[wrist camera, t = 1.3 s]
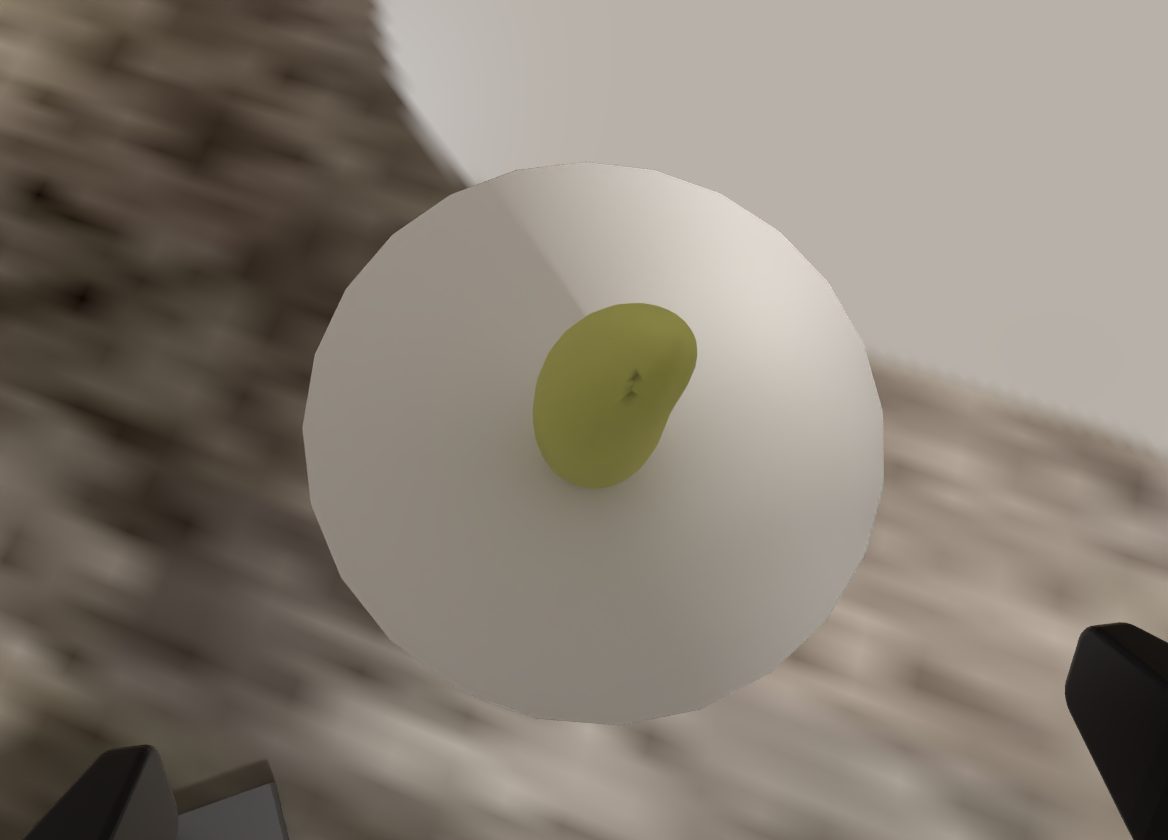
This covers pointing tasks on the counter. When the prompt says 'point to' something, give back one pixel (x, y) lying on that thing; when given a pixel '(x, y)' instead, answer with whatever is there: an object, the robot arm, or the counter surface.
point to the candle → (594, 443)
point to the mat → (237, 818)
